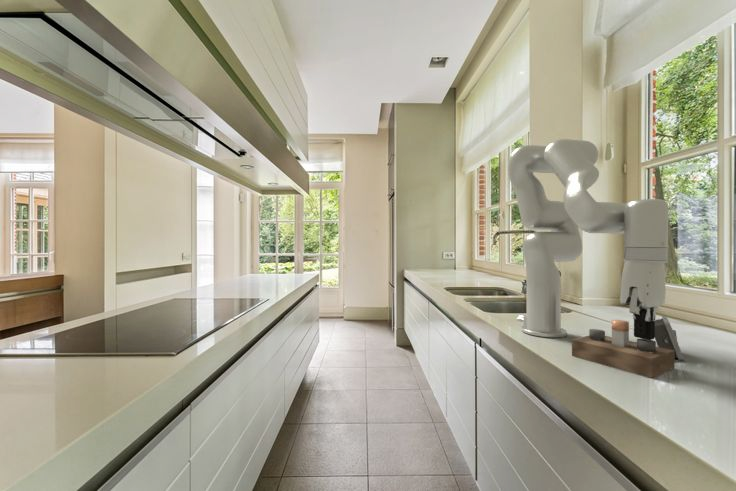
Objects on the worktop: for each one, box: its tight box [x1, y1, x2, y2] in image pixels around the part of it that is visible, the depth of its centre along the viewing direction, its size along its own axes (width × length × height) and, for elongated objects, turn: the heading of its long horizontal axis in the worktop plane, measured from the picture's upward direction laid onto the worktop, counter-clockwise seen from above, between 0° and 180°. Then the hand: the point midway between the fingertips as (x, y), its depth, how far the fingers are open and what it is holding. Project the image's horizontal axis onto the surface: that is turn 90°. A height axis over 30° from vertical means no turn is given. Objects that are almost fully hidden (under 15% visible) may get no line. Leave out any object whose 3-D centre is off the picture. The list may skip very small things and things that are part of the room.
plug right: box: [636, 338, 657, 354], centre depth 73 cm, size 3×3×6 cm
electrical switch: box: [654, 315, 684, 361], centre depth 83 cm, size 9×5×9 cm, turn 141°
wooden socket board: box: [571, 335, 676, 379], centre depth 78 cm, size 16×11×4 cm
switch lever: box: [588, 328, 606, 342], centre depth 82 cm, size 3×3×6 cm
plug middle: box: [611, 319, 630, 347], centre depth 78 cm, size 3×3×6 cm
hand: (644, 337), depth 74 cm, fingers closed
